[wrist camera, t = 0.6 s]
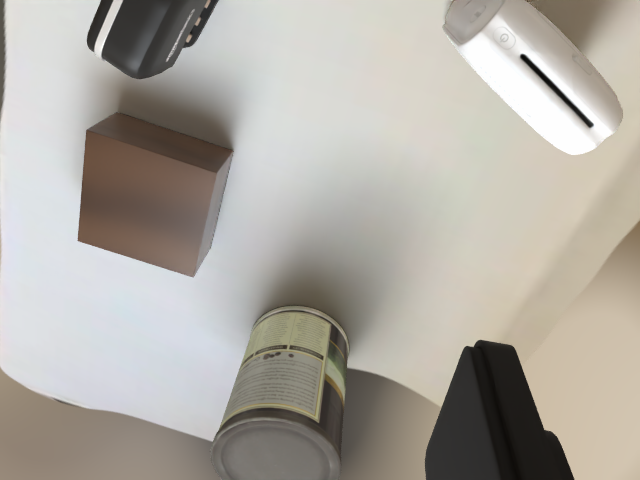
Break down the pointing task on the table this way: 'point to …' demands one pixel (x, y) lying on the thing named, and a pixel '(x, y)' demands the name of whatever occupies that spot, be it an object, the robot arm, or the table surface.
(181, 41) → the black rounded block
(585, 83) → the photo printer
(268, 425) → the coffee can
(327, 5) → the table surface
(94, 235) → the block
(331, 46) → the table surface
